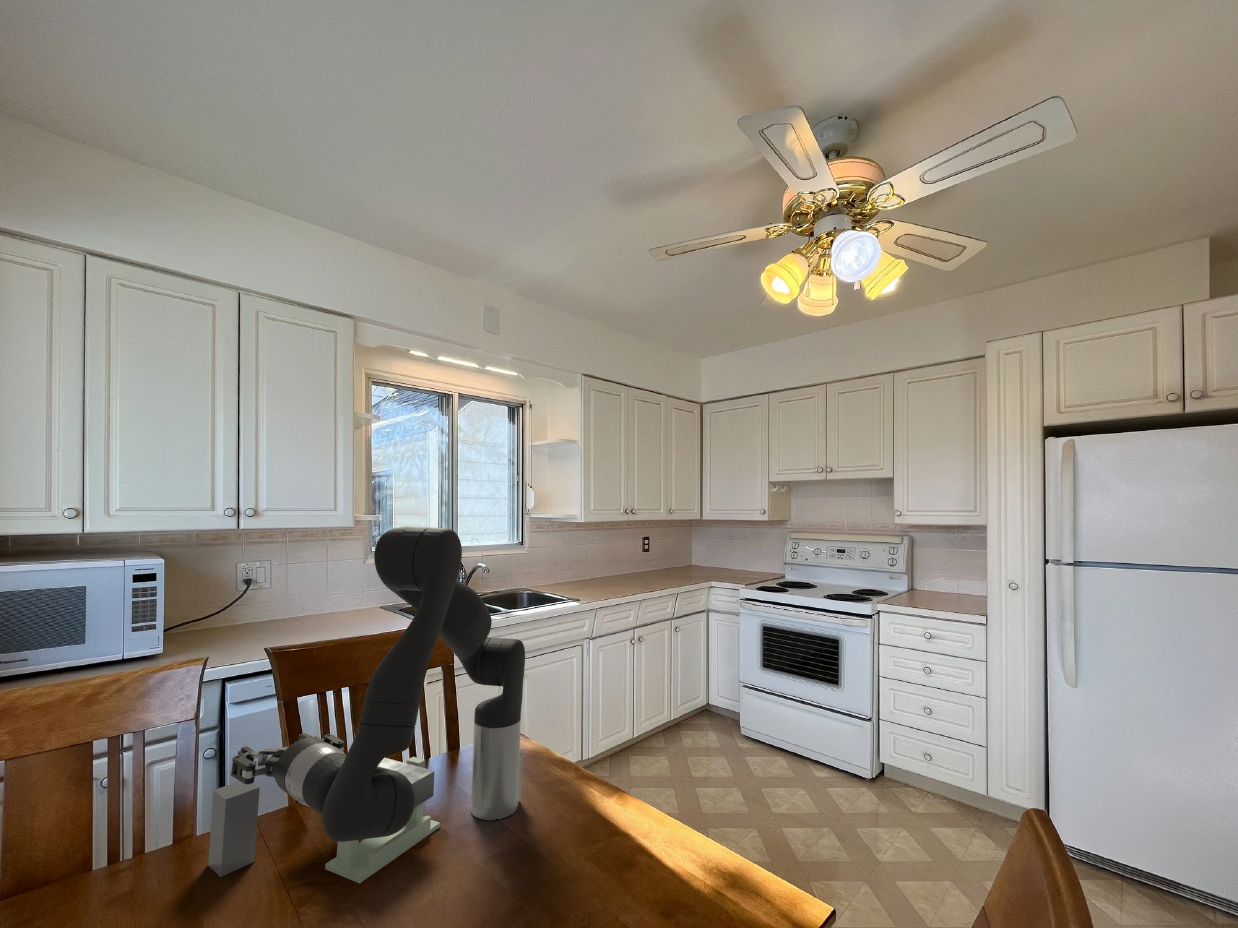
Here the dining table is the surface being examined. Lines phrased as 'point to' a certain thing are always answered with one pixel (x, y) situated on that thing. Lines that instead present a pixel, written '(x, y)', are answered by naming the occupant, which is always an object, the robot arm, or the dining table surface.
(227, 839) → the basalt block
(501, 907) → the dining table surface
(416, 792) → the trapdoor
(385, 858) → the frame
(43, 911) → the dining table surface
